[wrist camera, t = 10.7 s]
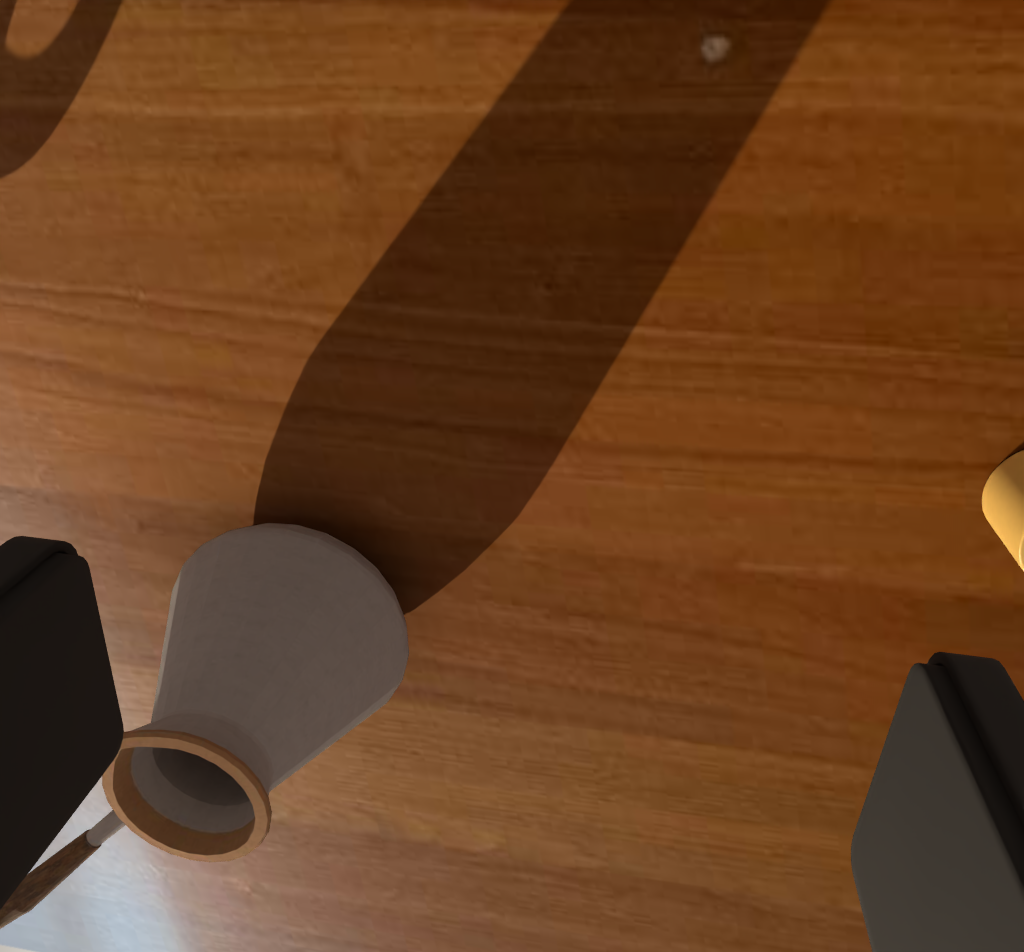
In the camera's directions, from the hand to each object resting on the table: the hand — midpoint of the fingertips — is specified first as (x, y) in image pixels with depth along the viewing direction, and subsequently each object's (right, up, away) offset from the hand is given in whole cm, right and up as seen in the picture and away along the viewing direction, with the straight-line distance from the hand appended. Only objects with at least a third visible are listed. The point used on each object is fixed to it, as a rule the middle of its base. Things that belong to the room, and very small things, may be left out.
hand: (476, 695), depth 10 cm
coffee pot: (-13, -6, +34) cm, 37 cm away
